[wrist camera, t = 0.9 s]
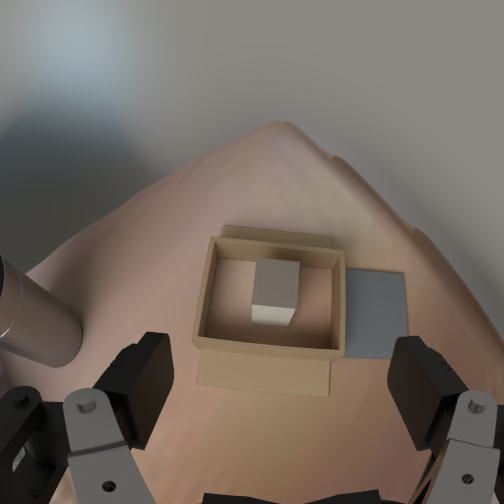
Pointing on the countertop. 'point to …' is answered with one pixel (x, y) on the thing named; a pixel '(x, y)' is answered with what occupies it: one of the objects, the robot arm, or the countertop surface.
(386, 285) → the slate mat
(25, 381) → the countertop surface
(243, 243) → the carton
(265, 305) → the tea box
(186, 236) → the countertop surface
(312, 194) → the countertop surface
